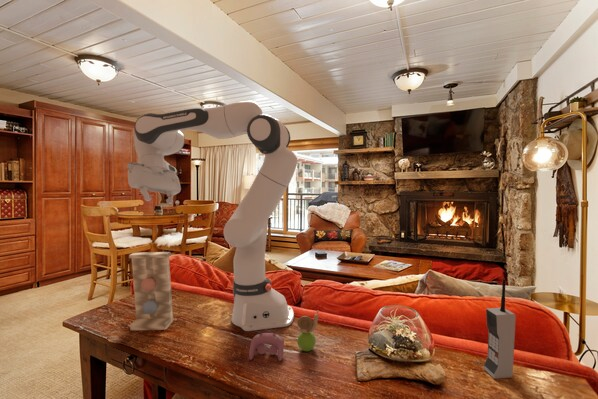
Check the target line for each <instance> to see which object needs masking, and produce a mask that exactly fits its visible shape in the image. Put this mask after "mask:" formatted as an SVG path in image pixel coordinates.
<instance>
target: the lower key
mask: <svg viewBox="0 0 598 399" xmlns="http://www.w3.org/2000/svg"><path fill="white" fill-rule="evenodd" d="M157 308H158V304H157V302H156V301H155V300H148V301H147V302H146V303H145V304H144V305H143V311H144V312H145V313H146V314H152V313H154V312H155V311H156V310H157Z"/></svg>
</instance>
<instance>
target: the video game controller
mask: <svg viewBox="0 0 598 399" xmlns="http://www.w3.org/2000/svg"><path fill="white" fill-rule="evenodd" d="M266 345H270V346H269V348H268V353H269V355H271V356H273V355H275V354H277V359H278V361H279V362H281V361H282V360H283V358H284V357H283V356H284V351H285V348H284V347H285V340H284V338H283V337H282V336H281V335H278V334H276V333H274V332H263V333H257V334H256V335H255V336H254V337H252V339H251V341H250V346H249V352H248V358H249V360H250V361H253V359H254V357H255V355H256V350H257V352H258V354H259V355H263V354H265V353H266V352H267V347H266Z"/></svg>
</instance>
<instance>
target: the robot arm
mask: <svg viewBox="0 0 598 399" xmlns="http://www.w3.org/2000/svg"><path fill="white" fill-rule="evenodd" d="M186 130H187V131H188V130H189V131H190V130H192V131H195V132H196V131H197V132H200V133H203V134H205V135H208V136H210V137H212V138H216V139H217V140H220V139H221V140H222V139H223V140H224V139H231V138H236V137H239V136H242V135H247V138H248V139H249V141H250V142H251V143H252V145H253V146H254V147H255V148H257V150H258V151H259V152H260V153H261V154H262V155H264V160H263V163H262V165H261V167H260V169H259V170H258V173H257V175H256V176H255V178H254V180H253V181H252V184H251V186H250V188H249V189H248V191H247V192H246V194H245V196H244V197H243V199H242V200H241V201H240V202H239V204H238V206H236V209H235V210H234V212H233V213H232V215H231V216H230V218H229V219H228V220H227V222H226V223H225V225H224V227H223V237H224V240H225V241H226V242H227V244H229V245H231V246H232V247H234V248H235V253H234V256H233V258H232V259H233V261H232V262H233V279H234V280H233V281H232V293H233V310H232V315H231V318H230V319H231V323H232V324H233V325H235V326H237V327H240V328H241V329H242V330H243V331H244V332H253V331H258V330H259V331H260V330H268V329H273V328H274V329H275V328H284V327H288V326H290V325H292V323H293V322H294V318H295V312H294V308H293V307H292V306H290V305H288V302H287V300H286V297H285V296H284V295H283V294H282V293H280V292H279V291H277V290H276V289H274V288H273V287H272V279H271V278H269V279H268V278H267V277H266V262H265V261H266V248H267V240H268V239H267V237H268V225H269V218H270V217H271V215H272V214H273V212H274V211H275V210H276V208H277V207H278V205H279V203H280V201H281V199H282V197H283V196H284V194H285V192H286V190H287V188H288V187H289V186H290V183H291V181H292V179H293V176H294V174H295V171H296V168H297V165H298V158H297V155H296V154H295V153H294V152H293V151H292V150H290V149H289V148H288V147H289V146H290V143H291V134H290V131H289V129H288V128H287V127H286V125H284V124H283V123H282V121H281V120H279V119H278V118H276V117H273V115H269V114H264V113H263V109H262V108H261V106H260V105H259V104H258V103H257V102H256V101H253V100H244V101H236V102H233V103H228V104H225V105H221V106H215V107H206V108H204V107H202V108H201V107H199V108H197V107H195V108H189V109H182V110H176V111H170V112H167V113H165V112H164V113H152V112H148V113H145V114H142V115H141V116H139V118H137V120H135V123H134V137H133V139H134V140H133V141H134V143H133V144H134V147H135V152H136V155H137V162H134V161H130V162H128V163H127V165H126V166H127V183H128V186H129V187H130V188H132V189H138V190H139V192H140V193H141V196H142V197H143V199H144V201H146V202H150V201H152V200H153V199H152V198H153V197H152V194H149V192H154V193H160V194H163V195H164V194H165V195H166V196H167V198H166V199H165V202H166V204H167V205H172V204H174V200H173V199H174V196H176V195H178V194H179V193H180V192H181V190H182V187H181V183H180V182H181V181H180V178H179V177H178V175H177V173H178V172H177V171H178V170H177V169H176V167H174V166H173V165H171V164H170V163H169V162H168V161H167V160H165V157H166V156H172V155H174V154H176V153H178V152H180V151H181V150H182V149H183V148H184V146H185V142H186V137H185V135H184V132H182V131H186ZM148 191H149V192H148Z"/></svg>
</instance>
